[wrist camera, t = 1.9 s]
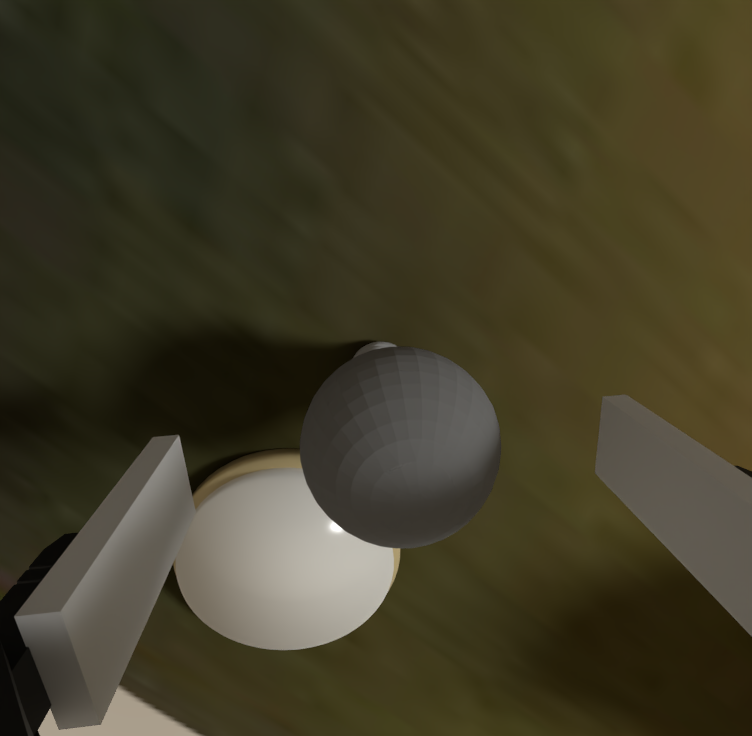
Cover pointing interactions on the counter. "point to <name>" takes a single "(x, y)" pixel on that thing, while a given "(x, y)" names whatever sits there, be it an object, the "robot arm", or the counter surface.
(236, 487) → the white plate
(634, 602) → the counter surface
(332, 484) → the light bulb
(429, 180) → the counter surface
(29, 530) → the counter surface
